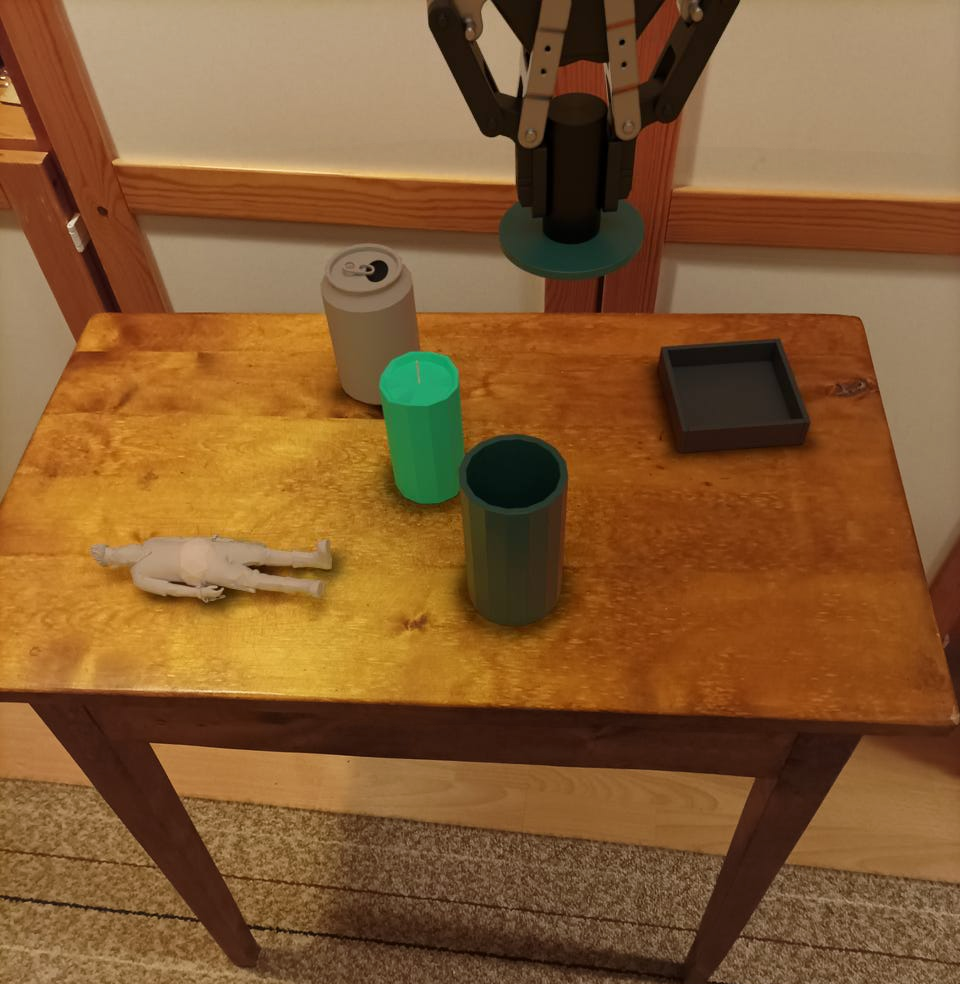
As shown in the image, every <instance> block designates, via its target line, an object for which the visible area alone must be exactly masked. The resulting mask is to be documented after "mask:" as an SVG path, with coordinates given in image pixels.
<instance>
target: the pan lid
mask: <svg viewBox="0 0 960 984" xmlns="http://www.w3.org/2000/svg"><path fill="white" fill-rule="evenodd" d="M607 118H608V103H607V102H606V101H605V100H604V99H603V98H601V97H600V96H598V95H595V94H592V93H588V92H576V91H575V92H566V93H562V94H559V95H556V96H553V97H552V99H551V100H550V104H549V110H548V115H547V121H546V126H545V132H544V139H545V140H546V144H547V199H546V217H542V218H532V215H531V209H530V207H522V206H521V204H520V202H519V200H518V201H516V202H515V203H514V204H512V205H511V206H510V207H509V208H508V209H507V210H506V211H505V213H504V214H503V215H502V217H501V219H500V221H499V225H498V244H499V248H500V249H501V251H502V252H501V253H503V255H504V256H505V258H506V259H507V260H508V261H509V262H510V263H511V264H513V265H514V266H516V267H517V268H518V269H520V270H522V271H524V272H526V273H528V274H530V275H533V276H536V277H540V278H545V279H548V280H554V281H567V282H569V281H585V280H591V279H596V278H600V277H604V276H606V275H609V274H613V273H614V272H616V271H619V270H621V269H622V268H624V267H625V266H626V265H628V264H629V263H631V262H632V261H633V260H634V259H635V258H636V257H637V255H638V254H639V252H641V251H640V250H641V249H642V247H643V245H644V244H643V243H644V239H645V228H646V227H645V223H644V222H645V221H644V220H643V217H642V215H641V214H640V212H639V210H637V208H636V207H635V206H634V205H632V204H631V203H630V202H629V201H627V199H620V200H618V209H617V211H616V212H604V213H603V211H602V207H601V206H602V191H603V176H604V161H605V147H606V132H607Z"/></svg>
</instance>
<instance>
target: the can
mask: <svg viewBox="0 0 960 984" xmlns="http://www.w3.org/2000/svg"><path fill="white" fill-rule="evenodd" d="M413 282H414V281H413V275H412V272H411V271H410V269H409V268H408V267H407V265H405V264H404V263H403V258H402V257H401V256H400V254H399V253H398V252H397V251H395V250H394V249H392V248H391V247H389V246H386V245H383V244H379V243H368V242H366V243H357V244H354V245H350V246H347V247H344V248H343V249H342V248H341V249H340V250H339V251H337V252H336V253H334V254H333V255H332V256H331V257H330V258H329V259H328V260H327V262H326V265H325V266H324V275H323V277H322V280H321V281H320V295H321V299H322V304H323V308H324V309H323V310H324V314H325V317H326V322H327V327H328V331H329V336H330V340H331V346H332V350H333V355H334V360H335V365H336V369H337V373H338V378H339V382H340V383H339V384H340V386H341V387H342V390H343V391H344V392H345V394H347V395H349V396H350V397H351V398H352V399H354V400H357V401H359V402H362V403H366V404H368V405H373V406H382V402H381V396H380V390H379V384H380V378H381V375H382V374H383V372H384V371H385V369H386V368H387V366H388V365H389V363H390V362H391V360H393V359H395V358H397V357H399V356H402V355H404V354H406V353H408V352H422V351H421V342H420V333H419V324H418V317H417V307H416V299H415V291H414V283H413Z"/></svg>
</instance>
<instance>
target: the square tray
mask: <svg viewBox="0 0 960 984" xmlns="http://www.w3.org/2000/svg"><path fill="white" fill-rule="evenodd" d="M657 372H658V377H659V381H660V385H661V388H662V389H661V390H662V393H663V397H664V401H665V406H666V409H667V413H668V417H669V423H670V425H671V430H672V434H673V437H674V442H675V445H676V449H677V453H678V454H683V453H684V454H685V453H697V452H710V451H711V452H713V451H725V450H727V451H728V450H738V449H739V450H742V449H754V448H768V447H782V446H796V445H798V446H799V445H804V442H805V440H806V437H807V435H808V433H809V429H810V426H811V423H812V420H811V419H810V418H811V417H810V416H809V413H808V410H807V408H806V404H805V402H804V400H803V397H802V393H801V391H800V389H799V386H798V382H797V380H796V378H795V375H794V373H793V369H792V367H791V364H790V361H789V360H788V355H787V354H786V351H785V348H784V345H783V343H782V340H781V338H779V337H777V338H764V339H763V338H762V339H751V340H750V339H749V340H739V341H738V340H737V341H722V342H721V341H719V342H708V343H706V342H705V343H695V344H693V343H691V344H680V345H667V346H666V345H665V346H663V345H662V346H661V347H660V351H659V356H658V362H657Z"/></svg>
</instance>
